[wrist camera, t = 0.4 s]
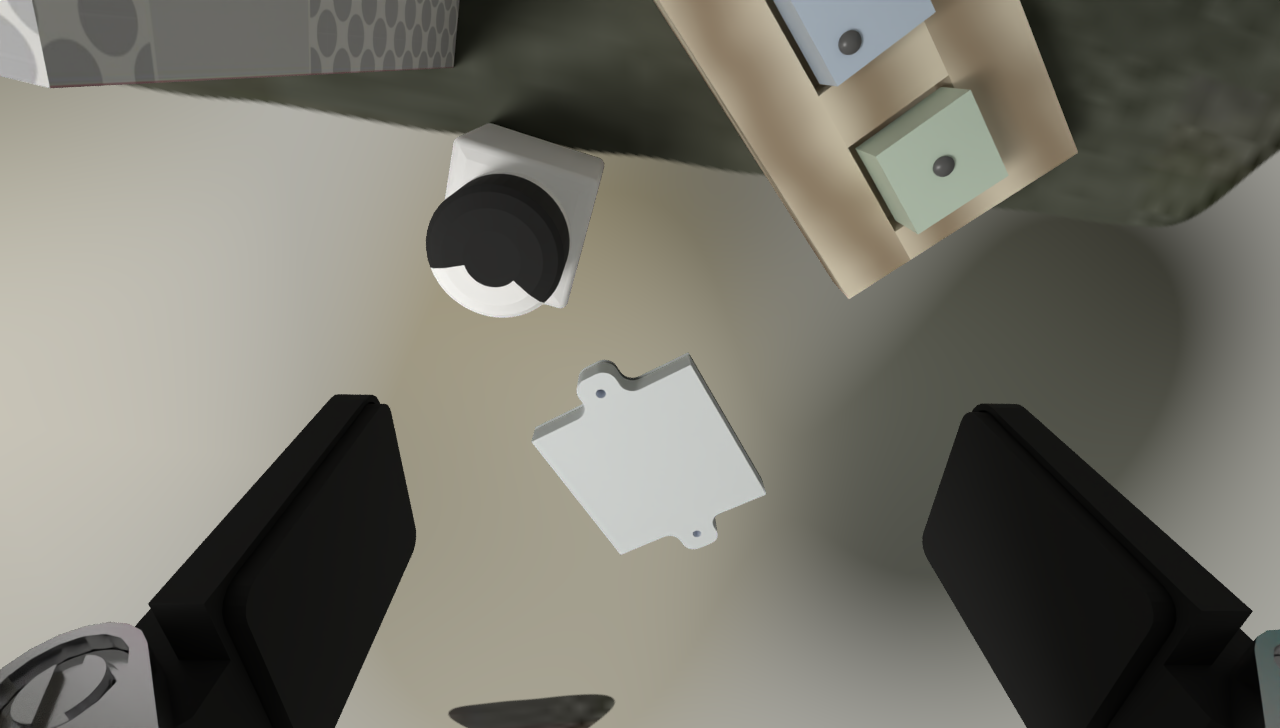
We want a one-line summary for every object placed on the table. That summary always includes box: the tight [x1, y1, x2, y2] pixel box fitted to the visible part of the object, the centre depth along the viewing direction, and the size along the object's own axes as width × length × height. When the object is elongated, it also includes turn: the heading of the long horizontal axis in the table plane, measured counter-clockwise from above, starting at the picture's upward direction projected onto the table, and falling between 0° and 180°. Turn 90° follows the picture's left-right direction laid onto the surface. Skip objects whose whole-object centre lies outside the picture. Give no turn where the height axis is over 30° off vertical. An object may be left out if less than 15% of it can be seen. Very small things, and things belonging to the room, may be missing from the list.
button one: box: [855, 87, 1009, 234], centre depth 30 cm, size 5×5×3 cm
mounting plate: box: [532, 352, 766, 555], centre depth 44 cm, size 18×13×2 cm
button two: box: [773, 0, 936, 87], centre depth 27 cm, size 5×5×3 cm
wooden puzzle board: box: [653, 0, 1078, 299], centre depth 29 cm, size 14×28×3 cm, turn 37°
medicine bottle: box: [426, 123, 604, 318], centre depth 30 cm, size 7×7×12 cm
